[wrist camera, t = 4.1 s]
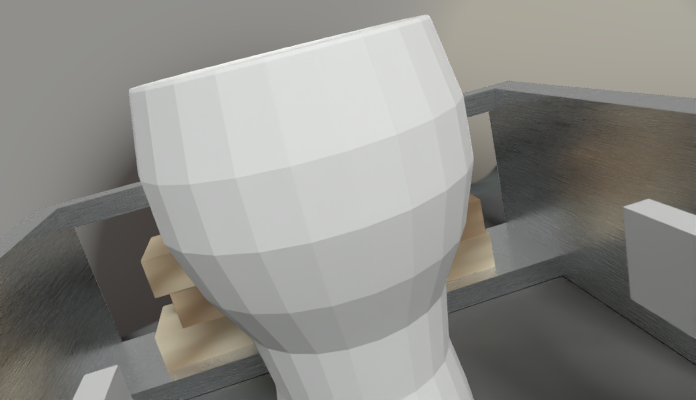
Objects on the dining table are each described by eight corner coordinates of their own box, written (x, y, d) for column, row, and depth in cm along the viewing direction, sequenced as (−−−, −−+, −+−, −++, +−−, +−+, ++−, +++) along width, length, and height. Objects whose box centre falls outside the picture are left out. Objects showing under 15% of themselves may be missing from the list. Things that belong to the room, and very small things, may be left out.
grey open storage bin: (-48, 734, 14) (-258, 440, 11) (103, 367, 31) (34, 210, 28) (810, 400, 18) (819, 110, 15) (529, 233, 35) (507, 80, 32)
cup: (200, 469, 22) (54, 106, 17) (367, 330, 29) (294, 44, 24) (408, 629, 14) (246, 64, 10) (566, 389, 21) (514, -8, 17)
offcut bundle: (167, 371, 27) (125, 265, 25) (175, 337, 30) (138, 241, 29) (495, 266, 29) (477, 162, 28) (468, 244, 33) (451, 151, 31)
